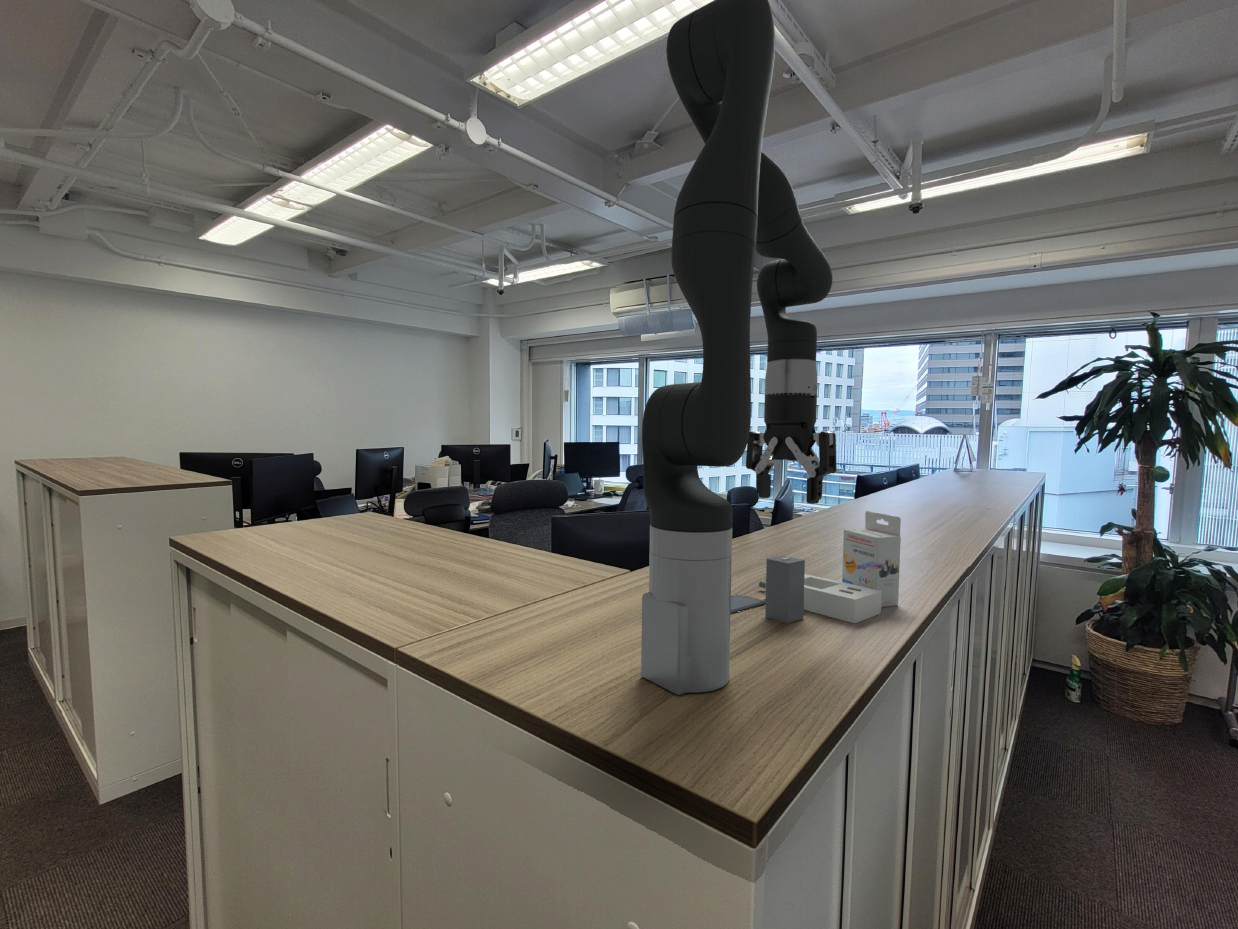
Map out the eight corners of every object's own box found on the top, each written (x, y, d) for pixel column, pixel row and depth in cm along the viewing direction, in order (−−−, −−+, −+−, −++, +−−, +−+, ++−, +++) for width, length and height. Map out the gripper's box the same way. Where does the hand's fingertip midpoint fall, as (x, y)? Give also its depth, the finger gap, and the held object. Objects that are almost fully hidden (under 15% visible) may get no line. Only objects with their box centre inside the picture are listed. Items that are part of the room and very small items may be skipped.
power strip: (854, 623, 83) (855, 594, 83) (746, 593, 98) (746, 568, 98) (880, 613, 88) (881, 585, 88) (773, 586, 103) (774, 562, 103)
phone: (718, 621, 85) (719, 615, 85) (690, 611, 90) (690, 605, 90) (767, 607, 92) (767, 601, 92) (739, 598, 97) (739, 593, 97)
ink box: (839, 594, 99) (842, 511, 98) (863, 592, 100) (865, 510, 100) (875, 608, 91) (878, 518, 90) (899, 606, 92) (903, 517, 91)
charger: (787, 623, 82) (789, 562, 82) (765, 616, 86) (766, 557, 85) (803, 618, 85) (804, 559, 85) (780, 612, 88) (782, 554, 88)
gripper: (736, 393, 87) (734, 497, 88) (819, 388, 76) (815, 507, 76) (766, 396, 92) (764, 495, 92) (848, 391, 80) (845, 503, 81)
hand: (787, 500), depth 84 cm, fingers open, 8 cm apart
